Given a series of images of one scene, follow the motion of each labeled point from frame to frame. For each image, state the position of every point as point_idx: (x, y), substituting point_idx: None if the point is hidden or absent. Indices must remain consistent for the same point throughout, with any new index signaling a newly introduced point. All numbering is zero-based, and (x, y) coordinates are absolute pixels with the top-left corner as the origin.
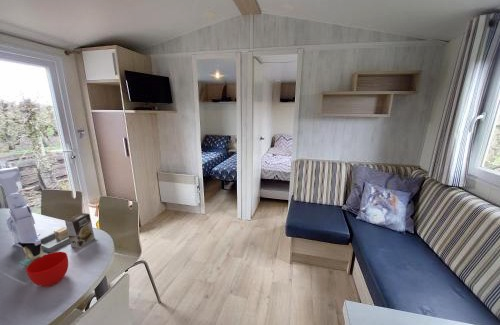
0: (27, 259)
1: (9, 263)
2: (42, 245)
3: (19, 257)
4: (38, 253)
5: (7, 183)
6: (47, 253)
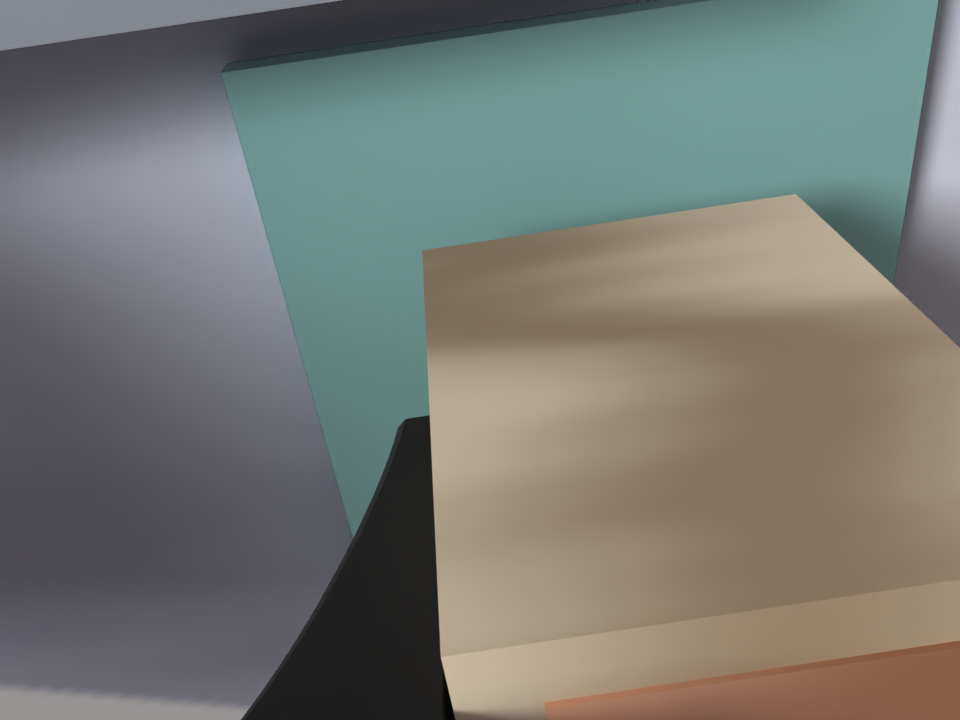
0: None
1: (157, 647)
2: (82, 13)
3: (18, 499)
4: None
5: None
6: (643, 11)
